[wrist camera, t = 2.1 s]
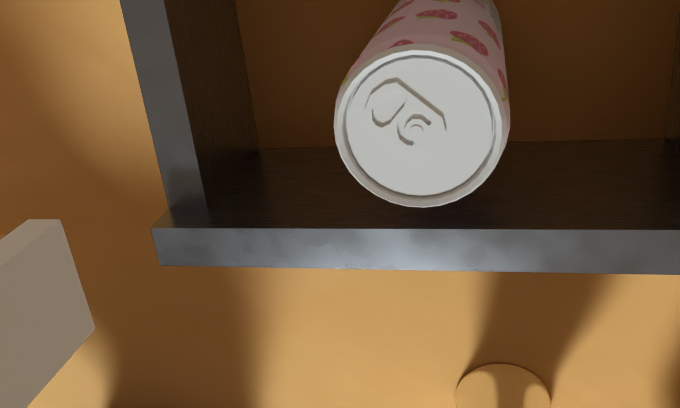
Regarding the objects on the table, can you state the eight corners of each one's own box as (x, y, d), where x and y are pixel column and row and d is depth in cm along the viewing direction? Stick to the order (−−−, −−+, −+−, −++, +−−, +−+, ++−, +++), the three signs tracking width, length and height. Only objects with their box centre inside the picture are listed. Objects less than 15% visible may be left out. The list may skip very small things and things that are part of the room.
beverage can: (401, -36, 32) (343, 20, 19) (515, -12, 31) (538, 63, 18) (379, 74, 34) (314, 191, 21) (483, 98, 34) (483, 234, 21)
